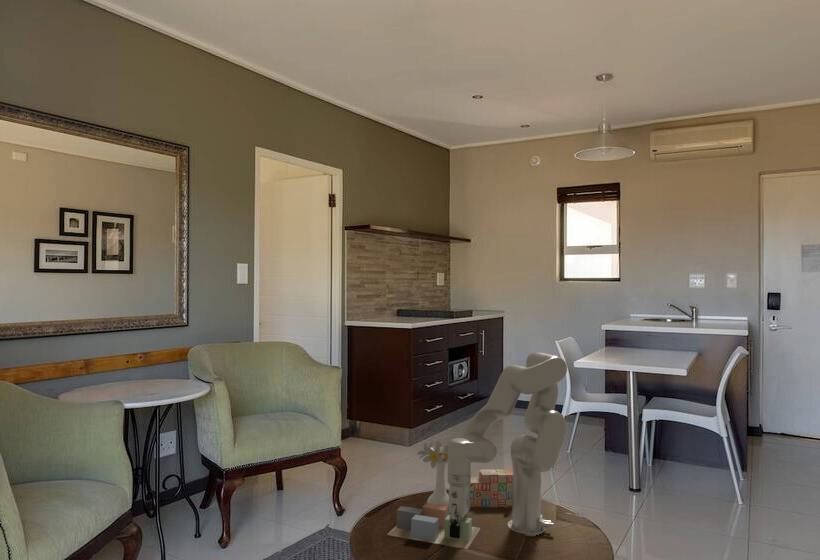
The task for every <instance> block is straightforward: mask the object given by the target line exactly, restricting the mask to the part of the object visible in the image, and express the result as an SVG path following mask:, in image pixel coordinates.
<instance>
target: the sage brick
mask: <svg viewBox="0 0 820 560" xmlns="http://www.w3.org/2000/svg"><path fill="white" fill-rule="evenodd" d="M455 519H456V521H457V518H456V517H455ZM459 525H460V538H459V539H457V538H452V537H450V515H448V516H447V517H446V518H445V534H444V538H449V539H454V540H460V541H466V542H469V540H470V539H471V537H472V527H473V518H472V517H467V516H466V517H463V518H461V517H460V521H459Z"/></svg>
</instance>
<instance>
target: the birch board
mask: <svg viewBox="0 0 820 560" xmlns="http://www.w3.org/2000/svg"><path fill="white" fill-rule="evenodd" d="M480 530H481V527H476V526H472V537H471V539H470V540H469V542H466V541H460V540H454V539H449V538H444V534H445V528H439V537H438V538H437V539H436V541H435V542H433V541H428V540H422V539H416V538H411V530H405V529H399V528H397V524H396V525H395V526H394V527H393V528H392V529H391V530H390V531H389V532H388V533H387V534H386V535H387V536H392V537H398V538H402V539H409V540H413V541H414V540H415V541H420V542H425V543H431V544H436V545H442V546H447V547H453V548H460V549H465V550H469V547H470V545H472V543H473V541H474V540H475V537H477V535H478V533H479V531H480Z"/></svg>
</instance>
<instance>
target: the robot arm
mask: <svg viewBox="0 0 820 560" xmlns="http://www.w3.org/2000/svg"><path fill="white" fill-rule="evenodd" d="M567 372H568V365H567V362H566V361H565V360H564V358H562V357H560V356H558V355H554V354H549V353H545V352H539V351H538V352H536V351H533V352H532V353H529V354H528V356H527V357H526V360H525V366H521V365H517V364H510V365H507V366H506V367H504V368H503V371H501V374H500V376H499V377H498V380H497V383H496V384H495V387H494V388H493V391H492V392H491V394H490V397H489V399H488V400H487V402H486V404H485V405H484V406H482V407H481V408H480V409H479V410H478V411H477V412H476V413H475V414H474V415H473V416H472V417H471V419H470V420H469V422H468V423H467V426H466V427H465V430H464V432H463V435H462V437H454V438H451V439H450V440H449V441H448V442H449V443H448V442H447V445H448V464H447V477H446V478H447V483H448V484H449V489H448V490H449V491H448V495H449V505H448V511H449V515H450V537H452V538H457V539H459V538H460V525H459V521H460V517H461V518H463V517H466V518H467V513H468V512H469V511H470V509H471V507H470V486H469V484H470V483H471V478H472V475H471V474H472V463H481V464H482V463H483V464H485V463H489V462H492V461H493V460H494V459H495V458H496V457H497V455H498V454H497V453H498V451H497V447H496V445H495V443H494V442H492V441H491V440H490V439H488V438H486V437H484V436H485V435H486V433H487V431H488V429H489V428H490V427H491V426H492V425H493V424H494V423H496V422H498V421H501V420H504V419H506V418H508V417H510V416H511V415H512V413H513V411H514V408H515V406H516V404H517V402H518V400H519V398H520V396H521V395H522V394H524V395H531V397H530V400H529V403H528V406H527V409H526V411H525V415H524V418H523V419H524V421H523V424H524V427H525V428H526V429H527V430H528V431H529V432H531V433H534V434H536V435H537V437H534V436H532V435H529V434H519V435H517V436H516V437H515V438H514V439H512V442H511V444H510V458H511V462H512V463H511V465H512V472H513V495H512V507H511V508H512V509H511V520H510V519H509V521H507V527H508V528H509V529H510V530H511V531H513V532H515V533H519V534H524V535H525V537H537V536H536V535H538V536H540V535H539V534H541V533H543V532H544V531H545V532H546V529H550V530H554V529H555V523H554V522H552V520H550V519H549V520H548V519H545V518H543V514H541V511H542V509H541V507H542V506H541V505H542V473H547V472H550V471H551V470H552V469H553V467H554V466H555V464H556V462H557V460H558V458H559V454H560V452H561V448H562V446H563V442H564V439H565V437H566V436H565V435H566V433H567V432H566V431H567V422H566V419H565V417H564V416H563V414H562V413H561V412H559V411H558V410H555V408H556V403H557V400H558V396H559V386H558V382H560V381H562V380H563V379H564V378H565V376H566V374H567ZM455 517H456V518H457V521H456V519H455ZM545 532H544V533H545ZM544 533H543V534H544ZM541 535H542V534H541Z"/></svg>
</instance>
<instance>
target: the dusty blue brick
mask: <svg viewBox="0 0 820 560" xmlns="http://www.w3.org/2000/svg"><path fill="white" fill-rule="evenodd" d="M438 537H439V518H434V517H428V516H422V515H415V516H414V517H413V518H412V519H411V538H416V539H422V540H428V541H433V542H435V541H436V539H437V538H438Z"/></svg>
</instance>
